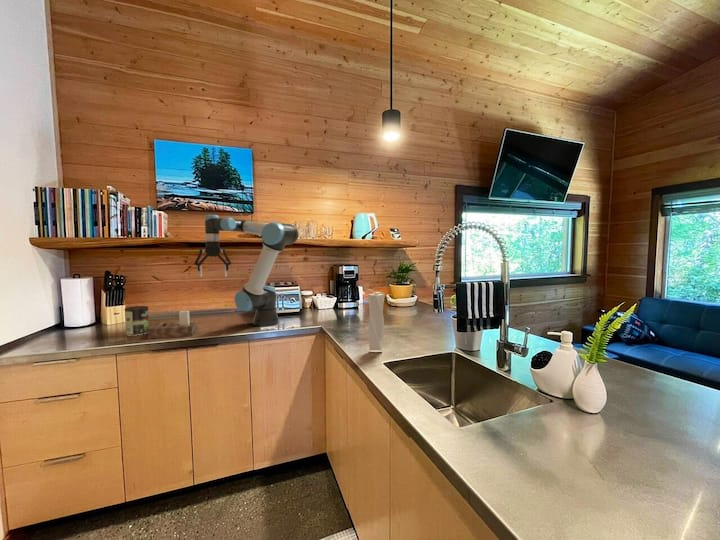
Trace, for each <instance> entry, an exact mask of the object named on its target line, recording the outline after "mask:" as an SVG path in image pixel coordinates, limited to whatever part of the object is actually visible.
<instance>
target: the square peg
mask: <svg viewBox="0 0 720 540" xmlns="http://www.w3.org/2000/svg"><path fill="white" fill-rule="evenodd" d="M178 315H179V316H178V318H179V319H178V320H179V321H178V322H179V324H180V326H182V325H190V321H191V320H190V310H189V309H188V310H180V311H179V312H178Z"/></svg>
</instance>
